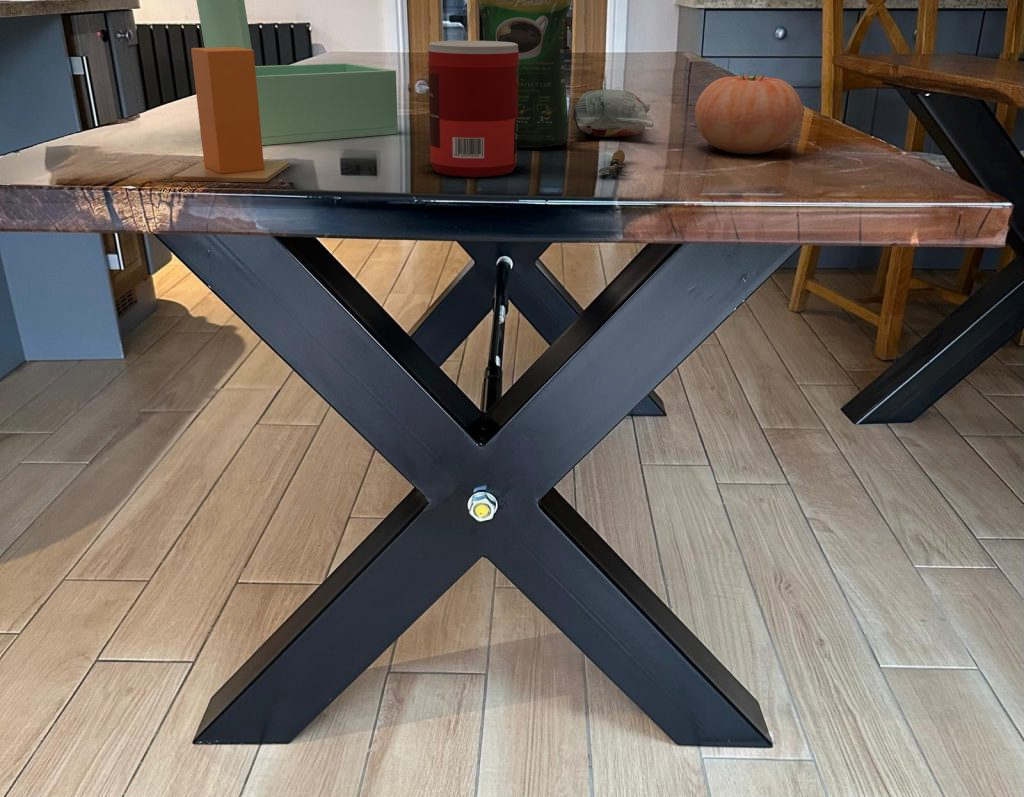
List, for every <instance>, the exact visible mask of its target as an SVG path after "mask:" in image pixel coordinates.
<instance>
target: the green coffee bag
mask: <svg viewBox="0 0 1024 797" xmlns="http://www.w3.org/2000/svg"><path fill="white" fill-rule="evenodd" d="M476 3H477V7H478V10H479V13H480V17H481V20H482V38H483V39H482V41H499V42H512V43H516V44H518V51H519V60H518V61H519V73H518V122H517V149H538V148H550V147H554V146H556V145H557V146H559V147H560V146H562V145H563V144H565V143H566V141H567V139H568V136H569V112H568V99H567V98H568V97H567V86H566V71H565V70H566V69H565V23H566V18H567V15H568V13H569V10H570V8H571V6H572V5H571V4H572V0H476Z"/></svg>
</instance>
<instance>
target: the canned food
mask: <svg viewBox="0 0 1024 797" xmlns="http://www.w3.org/2000/svg"><path fill="white" fill-rule="evenodd" d="M427 53H428V56H427V57H428V61H427V66H428V67H427V68H428V72H427V73H428V107H429V108H428V111H429V112H428V113H429V148H430V149H429V152H430V163H431V167H432V170H433V171H434V172H436V173H437V174H439V175H444V176H450V177H460V178H486V177H487V178H488V177H497V176H498V177H499V176H504V175H508V174H510V173H512V172H513V171H514V170H515V168H516V164H517V161H518V148H517V122H518V73H519V61H518V60H519V51H518V44H516V43H512V42H499V41H483V40H438V41H430V42H429V43H428V50H427Z"/></svg>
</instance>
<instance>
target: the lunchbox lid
mask: <svg viewBox="0 0 1024 797" xmlns="http://www.w3.org/2000/svg"><path fill="white" fill-rule="evenodd" d="M195 1H196V7H197V11H198V18H199V23H200V29H201V34H202V40H203V46H204V48H218V47H239V48H245V49H251V50H253V48H252V42H251V41H252V40H251V35H250V28H249V22H248V16H247V15H248V14H247V9H246V2H245V0H195Z"/></svg>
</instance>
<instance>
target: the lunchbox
mask: <svg viewBox="0 0 1024 797" xmlns="http://www.w3.org/2000/svg"><path fill="white" fill-rule="evenodd" d="M255 71H256V82H257V93H258V105H259V116H260V127H261V138H262V146H267V145H268V146H269V145H282V144H293V143H305V142H316V141H329V140H330V141H331V140H339V139H351V138H352V139H353V138H365V137H376V136H377V137H378V136H389V135H397V134H399V125H398V124H399V123H398V121H399V120H398V94H397V70H394V69H390V68H389V69H388V68H383V67H376V66H371V65H363V64H357V63H351V62H334V63H333V62H332V63H306V64H283V65H282V64H279V65H278V64H277V65H255Z"/></svg>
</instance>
